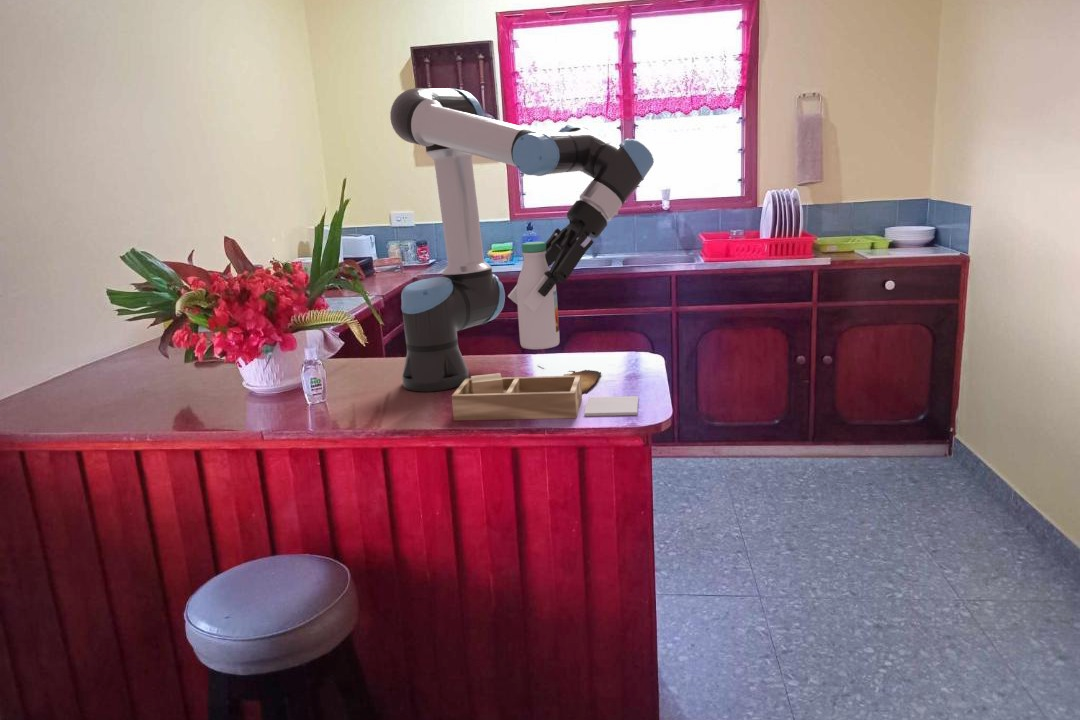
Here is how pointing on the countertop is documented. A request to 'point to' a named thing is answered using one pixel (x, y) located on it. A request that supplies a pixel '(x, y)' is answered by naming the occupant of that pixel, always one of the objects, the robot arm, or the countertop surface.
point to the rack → (521, 399)
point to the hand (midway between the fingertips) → (520, 304)
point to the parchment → (586, 378)
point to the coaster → (612, 406)
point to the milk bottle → (544, 322)
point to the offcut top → (487, 384)
